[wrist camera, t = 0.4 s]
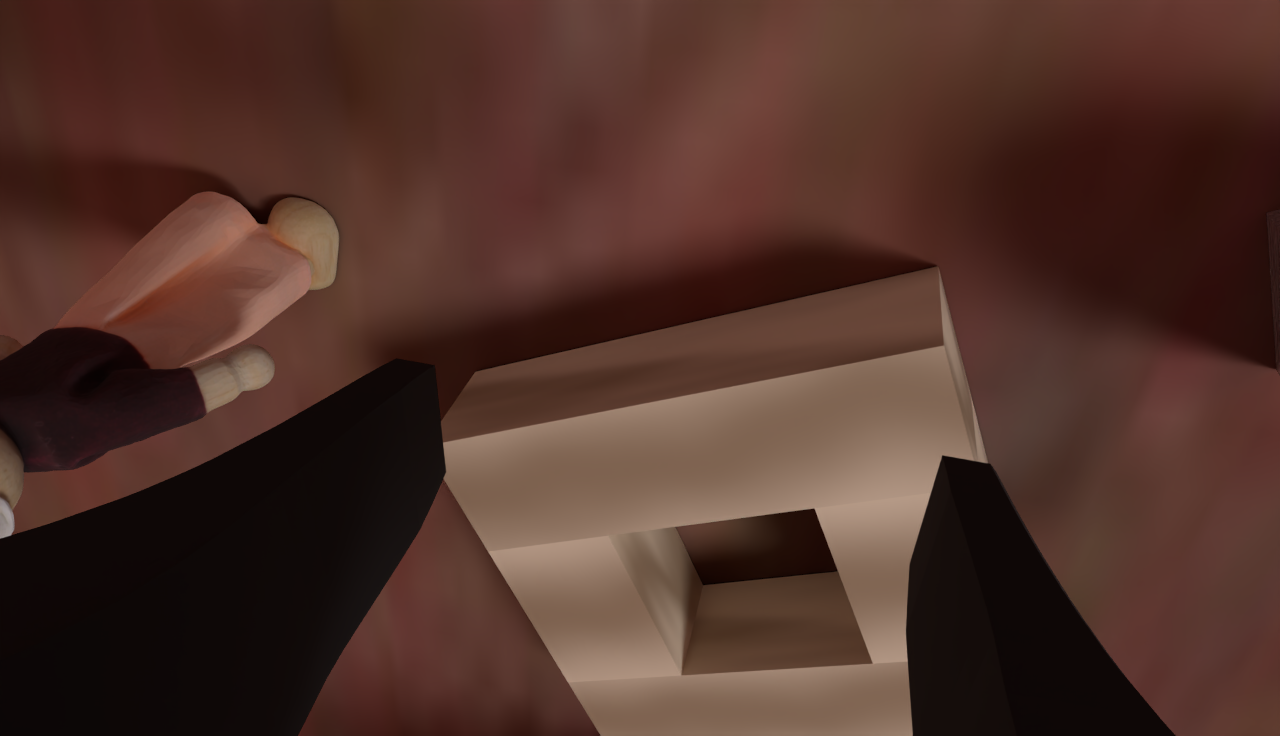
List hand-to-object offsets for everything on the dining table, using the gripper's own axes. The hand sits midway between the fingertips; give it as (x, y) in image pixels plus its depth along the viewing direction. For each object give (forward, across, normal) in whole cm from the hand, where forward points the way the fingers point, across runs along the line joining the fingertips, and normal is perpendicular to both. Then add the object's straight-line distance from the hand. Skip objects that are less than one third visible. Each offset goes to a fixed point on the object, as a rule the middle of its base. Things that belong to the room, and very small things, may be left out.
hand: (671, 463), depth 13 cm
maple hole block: (+10, -1, +10) cm, 14 cm away
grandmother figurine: (+10, +14, +4) cm, 18 cm away
